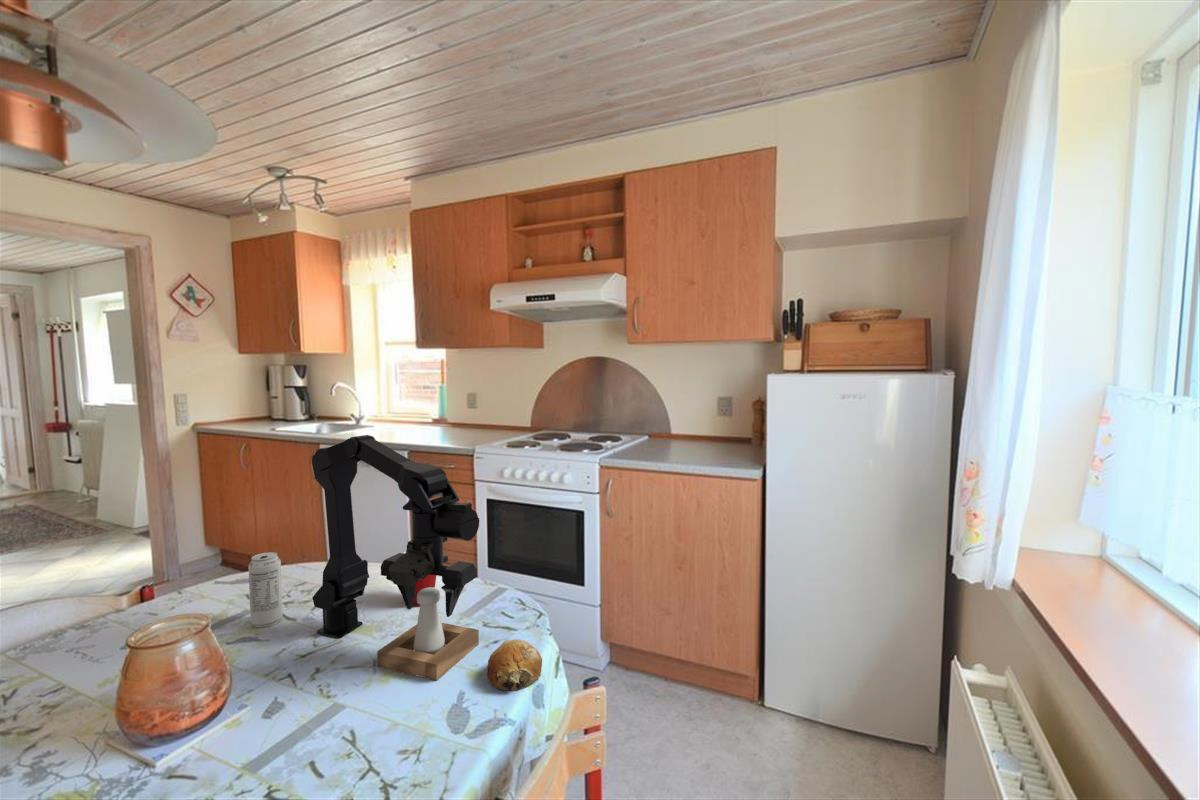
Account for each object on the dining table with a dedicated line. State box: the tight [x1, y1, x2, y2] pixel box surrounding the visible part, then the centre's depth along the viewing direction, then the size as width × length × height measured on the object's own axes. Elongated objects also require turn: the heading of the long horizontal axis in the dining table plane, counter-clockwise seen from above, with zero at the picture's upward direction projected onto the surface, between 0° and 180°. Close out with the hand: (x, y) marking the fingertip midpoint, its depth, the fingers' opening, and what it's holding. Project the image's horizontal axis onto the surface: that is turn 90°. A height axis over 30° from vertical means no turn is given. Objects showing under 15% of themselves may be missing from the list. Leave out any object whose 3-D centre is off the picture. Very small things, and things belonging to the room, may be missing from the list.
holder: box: [376, 622, 480, 681], centre depth 102 cm, size 13×13×3 cm
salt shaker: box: [414, 587, 445, 655], centre depth 101 cm, size 6×6×13 cm
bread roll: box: [486, 638, 543, 692], centre depth 95 cm, size 10×10×8 cm
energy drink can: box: [247, 551, 284, 629], centre depth 115 cm, size 6×6×15 cm
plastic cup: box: [402, 551, 438, 608], centre depth 125 cm, size 11×11×12 cm
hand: (429, 612), depth 101 cm, fingers open, 9 cm apart
